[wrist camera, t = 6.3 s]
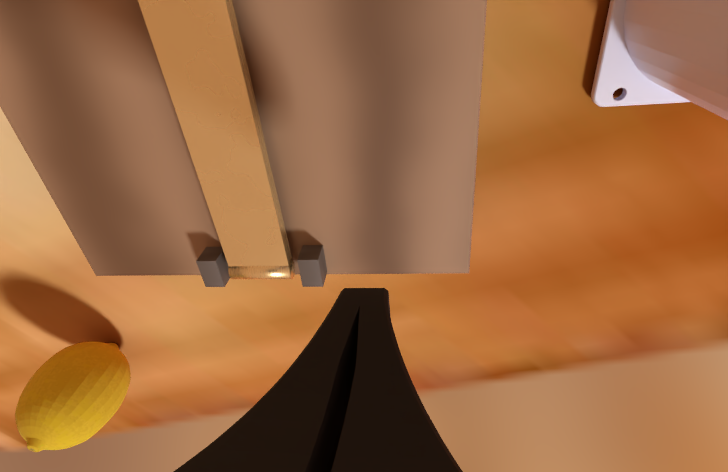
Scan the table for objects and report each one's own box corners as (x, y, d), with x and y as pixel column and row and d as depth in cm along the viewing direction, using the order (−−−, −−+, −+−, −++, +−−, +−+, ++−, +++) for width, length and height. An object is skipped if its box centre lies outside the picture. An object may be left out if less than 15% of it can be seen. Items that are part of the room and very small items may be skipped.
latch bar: (229, -25, 14) (217, -23, 13) (296, 270, 21) (291, 283, 20) (146, -16, 14) (129, -14, 13) (239, 270, 21) (231, 283, 20)
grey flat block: (481, -120, 14) (506, -149, 11) (462, 238, 22) (473, 295, 19) (-19, -56, 17) (-145, -61, 13) (127, 244, 25) (76, 295, 21)
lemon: (61, 321, 30) (-39, 423, 23) (127, 314, 29) (41, 420, 22) (103, 371, 33) (24, 474, 26) (164, 367, 32) (98, 474, 25)
